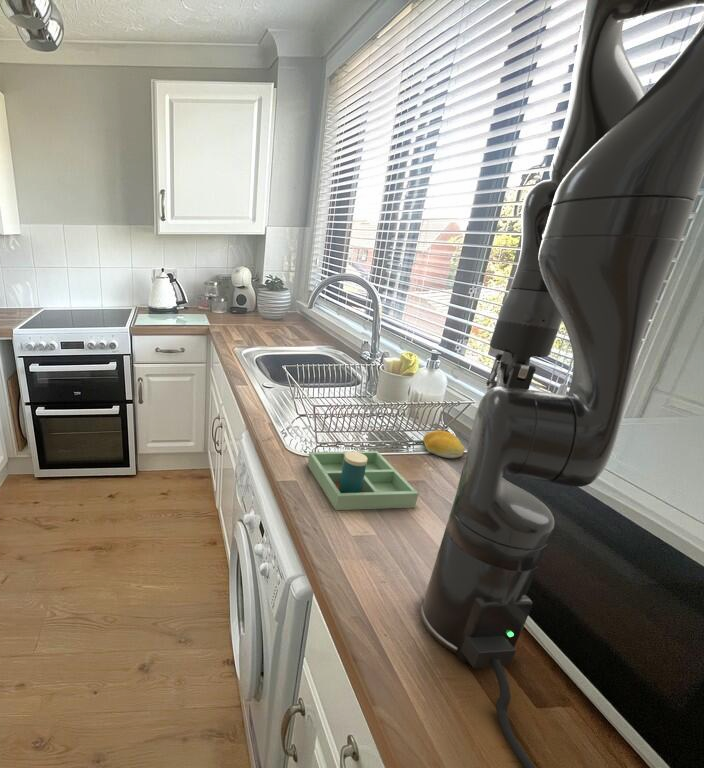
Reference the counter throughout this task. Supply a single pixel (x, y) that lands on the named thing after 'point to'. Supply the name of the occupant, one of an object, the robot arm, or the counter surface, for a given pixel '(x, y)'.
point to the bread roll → (443, 444)
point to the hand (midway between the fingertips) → (493, 421)
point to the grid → (378, 484)
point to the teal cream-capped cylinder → (352, 472)
